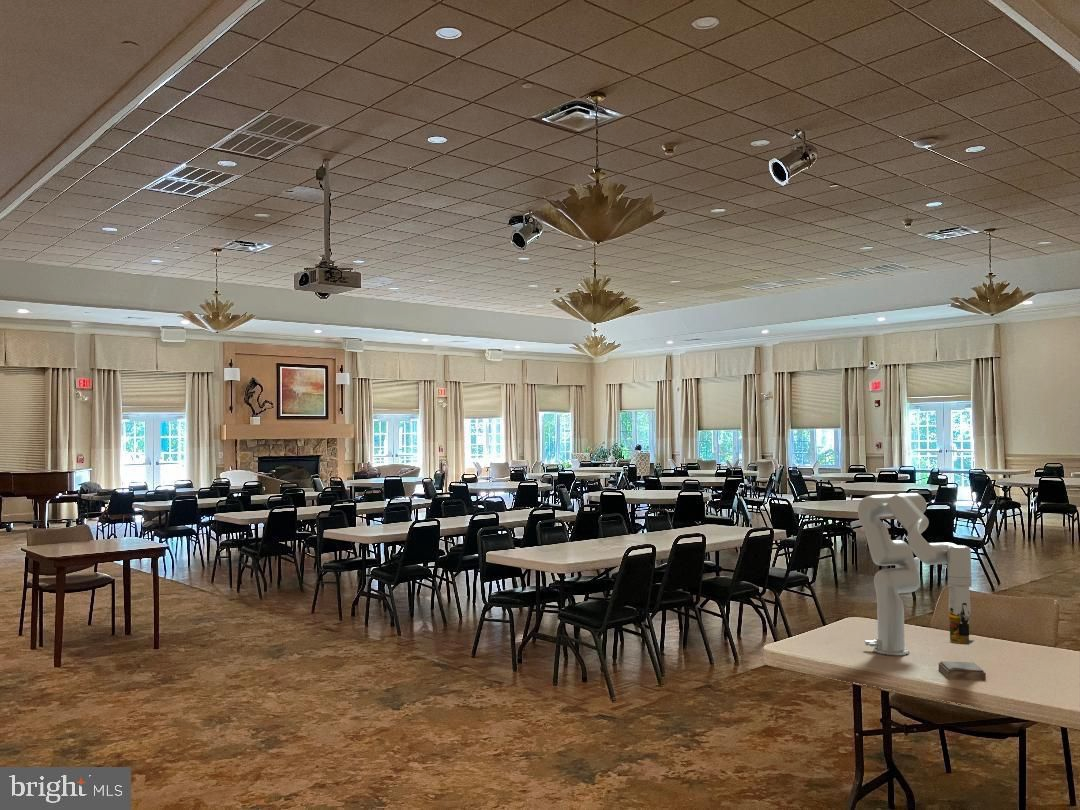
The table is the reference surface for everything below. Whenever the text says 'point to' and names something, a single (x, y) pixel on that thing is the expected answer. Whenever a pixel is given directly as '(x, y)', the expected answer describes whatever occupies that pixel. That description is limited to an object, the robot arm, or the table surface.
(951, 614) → the condiment
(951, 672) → the pedestal
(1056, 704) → the table surface
